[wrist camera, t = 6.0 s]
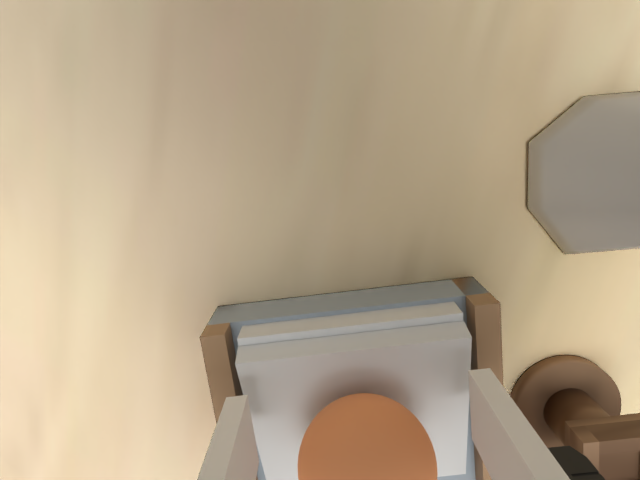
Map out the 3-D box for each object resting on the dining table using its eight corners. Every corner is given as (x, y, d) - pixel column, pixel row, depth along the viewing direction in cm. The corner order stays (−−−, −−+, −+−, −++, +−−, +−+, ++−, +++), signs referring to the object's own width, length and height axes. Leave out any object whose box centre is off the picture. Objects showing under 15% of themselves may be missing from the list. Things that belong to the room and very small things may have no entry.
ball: (298, 372, 16) (275, 541, 14) (444, 386, 16) (447, 567, 13) (315, 400, 21) (299, 532, 18) (430, 412, 20) (430, 551, 18)
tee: (508, 361, 23) (562, 427, 18) (611, 349, 23) (696, 412, 17) (511, 450, 24) (562, 536, 19) (610, 439, 24) (689, 523, 19)
